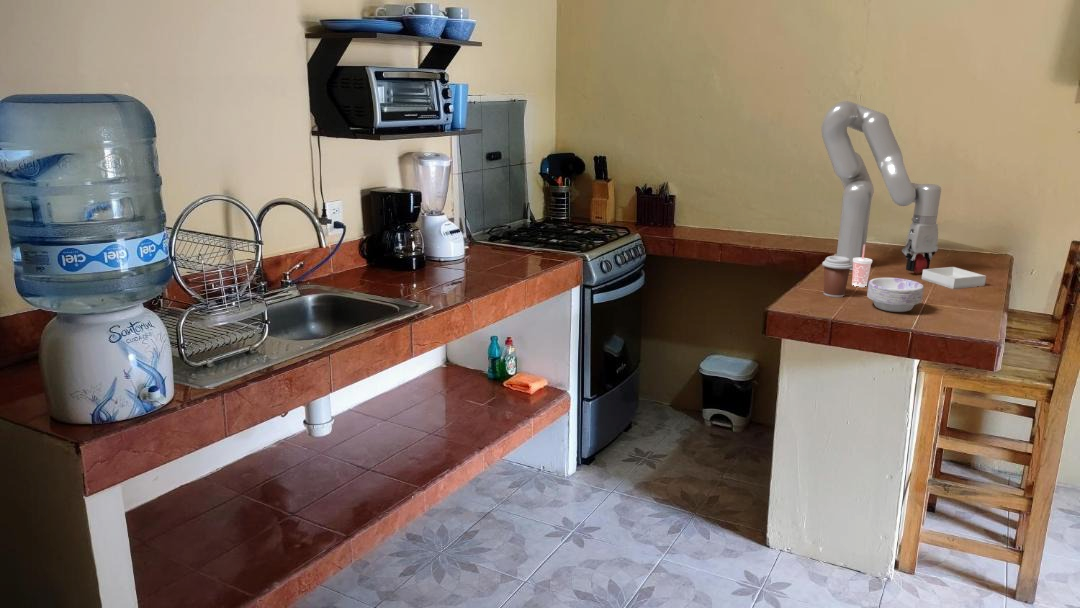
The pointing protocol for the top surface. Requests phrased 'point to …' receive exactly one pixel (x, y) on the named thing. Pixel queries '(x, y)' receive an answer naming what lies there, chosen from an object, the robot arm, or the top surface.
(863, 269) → the beverage cup
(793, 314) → the top surface
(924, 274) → the box
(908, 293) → the paper bowls
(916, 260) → the onion
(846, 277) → the coffee cup
